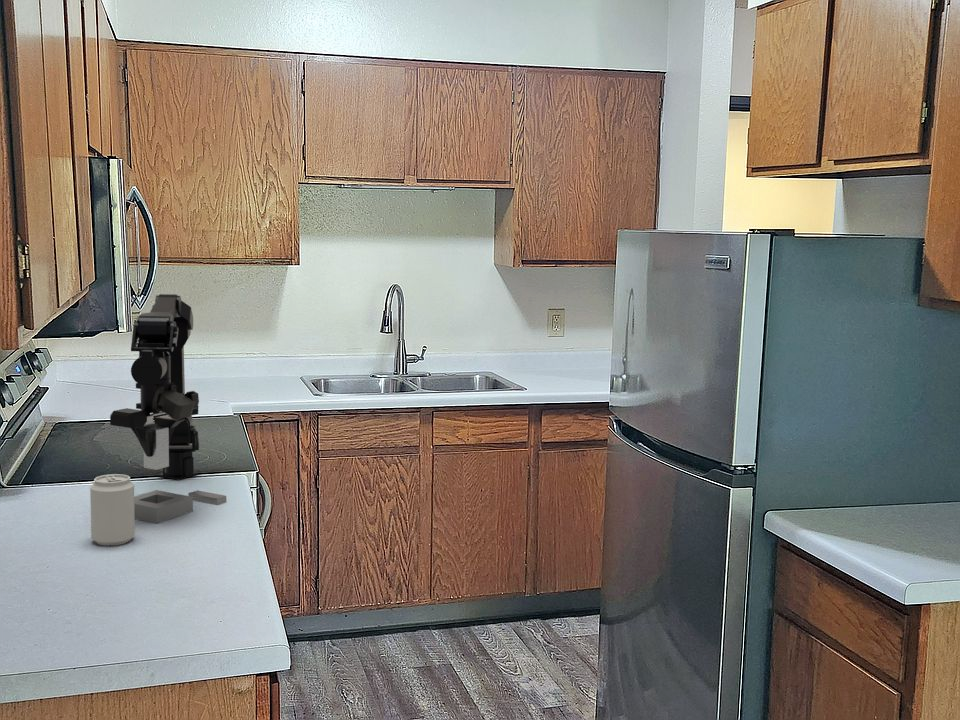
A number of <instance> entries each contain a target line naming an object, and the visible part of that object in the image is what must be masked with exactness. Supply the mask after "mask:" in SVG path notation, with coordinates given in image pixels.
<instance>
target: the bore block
mask: <svg viewBox="0 0 960 720" xmlns="http://www.w3.org/2000/svg"><path fill="white" fill-rule="evenodd" d="M192 512H194V501H193V497H191V496H188V495H184V494H180V493H179V494H178V493H173V492H169V491H163V490H158V489H155V490H152V491H148V492H146V493H142V494H137V495H134V514H135V520H139V521H142V522H143V521H144V522H148V523H154V524H159V523H162V522H166V521H168V520H171V519H175V518H177V517H180V516H184V515H186V514H189V513H192Z"/></svg>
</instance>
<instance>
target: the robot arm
mask: <svg viewBox="0 0 960 720" xmlns="http://www.w3.org/2000/svg"><path fill="white" fill-rule="evenodd" d="M182 300H183V299H182V297H181V295H178V294H175V293H174V294H168V293H166V294H165V293H163V294H162V293H160V294H157V295H156V296H155V300H154V301H155V303H154V304H153V305H152V306H151V310H150V311H149V312H142V313H141V314H139V315H138V317H137V319H136V320H135V321H133V328H132V336H131V337H132V338H131V343H130V345H131V346H130V352H138V357H137V358H136V359H135V360H134V362H132V366H131V368H130V374H131V377H132V379H133V380H134V382H136V383H135V389H138V390H139V389H140V391H139V392H140V402H139V403H135V409H133V408H126V407H125V408H121V409H116V410H115V409H114V410H112V412H111V414H110V415H109V424H110V426H115V427H120V428H127V429H131V430H132V433H133V434H134V435H135V437H136V439H137V440H138V442H139V444H140V446H141V448H142V450H143V453H144V452H145V454H146V456H148V457H151V456H152V452H153V432H154V430H155V429H156V427H157V426H162V427H168V428H169V466H168V467H165V468H162V472H160V473H158V474H157V477H161V478H165V477H166V478H167V479H172V480H177V481H178V480H182V479H183V480H184V479H186V478H189V477H192V476H193V477H194V476H196V475H198V472H197V471H194V466H195V465H194V456H193V453H195V452H196V451H200V437H199V431H198V430H197V428H196V425H194V420H193V416H196V415H199V404H200V398H199V393H198V392H196V391H195V390H191V391H187V392H186V391H185V390H186V387H185V345H186V343H187V341H188V339H189V338H190V336H191V331H192V330H194V315H193V310H192V307H191V306H190V305H188V304H187V303H186V302H185V301H182Z"/></svg>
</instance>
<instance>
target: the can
mask: <svg viewBox="0 0 960 720" xmlns="http://www.w3.org/2000/svg"><path fill="white" fill-rule="evenodd" d="M93 481H94V482H93V483H92V485H91V486H90V488H89V489H90V490H89V491H90V492H89V493H90V495H89V496H90V534H91V535H90V538H91V540H92V541H94V542H95V543H96V544H97V545H100V546H106V547H107V546H108V547H109V546H110V545H111V546H119V545H124V544H126V542H127V543H129V542H130V541H131V540H132V539H133V538H134V536H135V533H136V531H135V530H136V526H135V520H136V519H135V514H134V496H135V484H134V483H133V482H132V481H131V477H130V475H127V474H122V473H120V474H119V473H112V474H104V475H98V476H96V477H95V478H94V479H93ZM128 541H129V542H128Z"/></svg>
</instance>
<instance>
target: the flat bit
mask: <svg viewBox="0 0 960 720" xmlns="http://www.w3.org/2000/svg"><path fill="white" fill-rule="evenodd" d="M187 496H191V497H193V502H199V503H204V504H209V505H214V506H219V505H222V504H225V503H227V495H225V494H219V493H214V492H208V491H203V490H198V489H197V490H193V491H191V492H188V495H187Z"/></svg>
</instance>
